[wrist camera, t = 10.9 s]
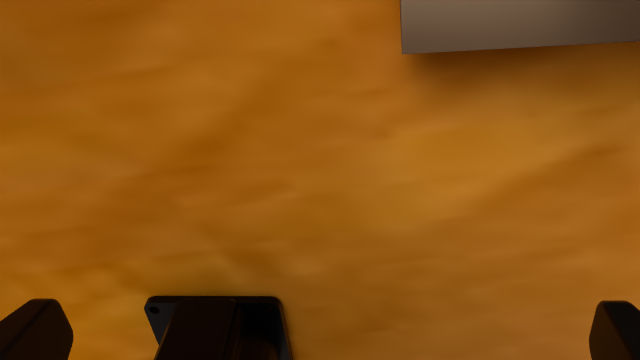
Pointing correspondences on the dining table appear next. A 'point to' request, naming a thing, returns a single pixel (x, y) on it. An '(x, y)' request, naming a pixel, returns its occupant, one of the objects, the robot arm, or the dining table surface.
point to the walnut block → (515, 23)
